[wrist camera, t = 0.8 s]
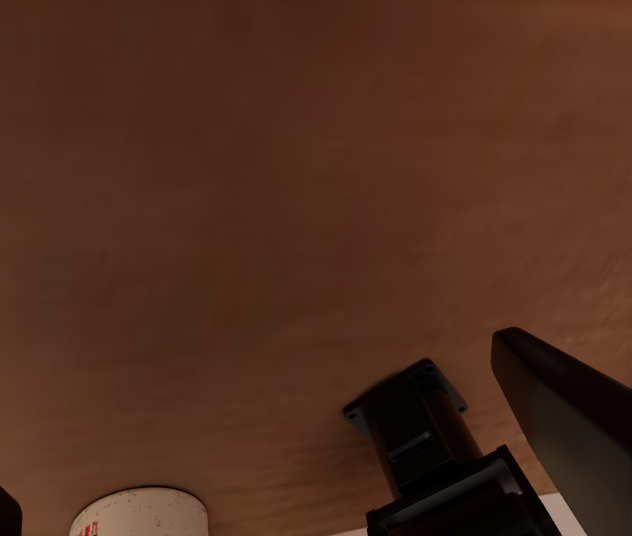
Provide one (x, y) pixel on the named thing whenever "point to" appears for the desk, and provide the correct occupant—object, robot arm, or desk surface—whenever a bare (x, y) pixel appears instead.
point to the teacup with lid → (143, 515)
